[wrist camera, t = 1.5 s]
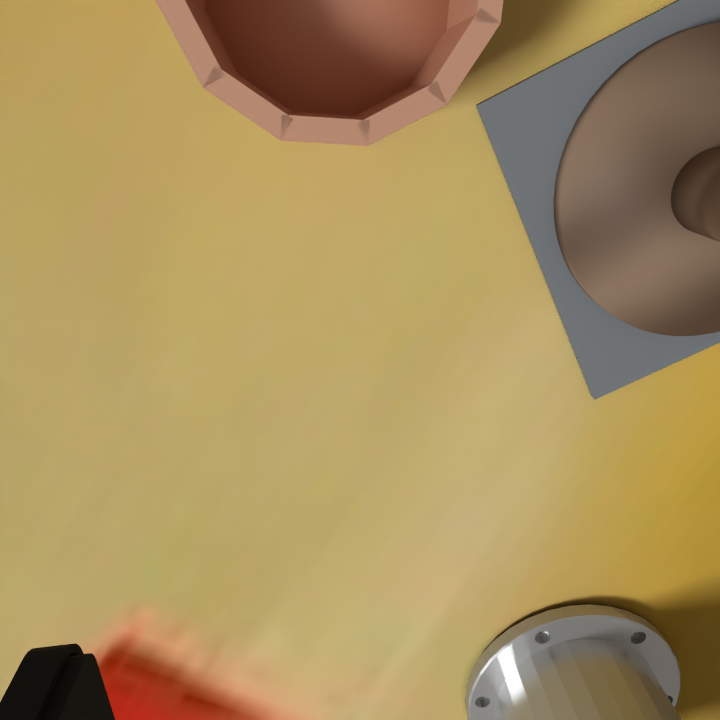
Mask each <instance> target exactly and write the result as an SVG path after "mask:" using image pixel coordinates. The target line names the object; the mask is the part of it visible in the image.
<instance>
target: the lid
mask: <svg viewBox="0 0 720 720" xmlns="http://www.w3.org/2000/svg"><path fill="white" fill-rule="evenodd" d="M553 202H554V223H555V229H556V236H557V240H558V243H559V247H560V250H561V253H562V256H563V258H564V261H565V263H566V265H567V267H568V269H569V271H570V273H571V274H572V276H573V277H574V279H575V280H576V282H577V283H578V285H579V286H580V287H581V288H582V290H583V291H584V292H585V293H586V294H587V295H588V296H589V297H590V298H591V299H592V300H593V301H594V302H596V303H597V304H598V305H599V306H600V307H602V308H603V309H604V310H606V311H607V312H608V313H610V314H611V315H612V316H614V317H616V318H618V319H619V320H621V321H623V322H624V323H626V324H628V325H631V326H633V327H636V328H638V329H641V330H643V331H647V332H651V333H656V334H660V335H670V336H697V335H704V334H710V333H715V332H719V331H720V22H717V23H711V24H705V25H700V26H696V27H692V28H689V29H685V30H682V31H679V32H676V33H674V34H672V35H669V36H667V37H665V38H662V39H660V40H658V41H656V42H654V43H653V44H651V45H649V46H648V47H646V48H644V49H643V50H641V51H639V52H638V53H637V54H635V55H634V56H633V57H631V58H630V59H629V60H627V61H626V62H625V63H624V64H622V65H621V66H620V67H619V68H618V69H617V70H616V71H615V72H614V73H613V74H612V75H611V76H610V77H609V78H608V79H607V80H606V81H605V82H604V83H603V84H602V85H601V86H600V87H599V89H598V90H597V91H596V92H595V94H594V95H593V96H592V97H591V99H590V100H589V101H588V103H587V104H586V106H585V108H584V109H583V111H582V112H581V114H580V115H579V117H578V118H577V120H576V122H575V124H574V126H573V128H572V131H571V133H570V135H569V137H568V139H567V141H566V144H565V147H564V150H563V153H562V156H561V158H560V162H559V167H558V171H557V175H556V180H555V190H554V200H553Z"/></svg>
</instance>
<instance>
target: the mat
mask: <svg viewBox="0 0 720 720" xmlns="http://www.w3.org/2000/svg"><path fill="white" fill-rule="evenodd" d="M717 22H720V0H677V1H675V2H673V3H671V4H669V5H667V6H665V7H664V8H662V9H660V10H658V11H656V12H654V13H652V14H650V15H648V16H646V17H644V18H642V19H640V20H639V21H637V22H635V23H633V24H631V25H629V26H627V27H625V28H623V29H621V30H619V31H617V32H615V33H613V34H612V35H610V36H608V37H606V38H604V39H602V40H600V41H598V42H596V43H594V44H592V45H590V46H588V47H587V48H585V49H583V50H581V51H579V52H577V53H575V54H573V55H571V56H569V57H567V58H565V59H563V60H562V61H560V62H558V63H556V64H554V65H552V66H550V67H548V68H546V69H544V70H542V71H540V72H538V73H537V74H535V75H533V76H531V77H529V78H527V79H525V80H523V81H521V82H519V83H517V84H515V85H513V86H511V87H510V88H508V89H506V90H504V91H502V92H500V93H498V94H496V95H494V96H492V97H490V98H488V99H486V100H485V101H483V102H481V103H479V104H477V105H476V107H477V109H478V112H479V114H480V117H481V119H482V122H483V124H484V127H485V129H486V132H487V135H488V137H489V140H490V142H491V145H492V147H493V150H494V152H495V155H496V157H497V160H498V162H499V165H500V167H501V170H502V172H503V175H504V177H505V180H506V182H507V185H508V187H509V190H510V192H511V195H512V197H513V200H514V202H515V205H516V208H517V210H518V213H519V215H520V218H521V220H522V223H523V225H524V228H525V230H526V233H527V235H528V238H529V240H530V243H531V245H532V248H533V250H534V253H535V255H536V258H537V260H538V263H539V265H540V268H541V270H542V273H543V275H544V278H545V281H546V283H547V286H548V288H549V291H550V293H551V296H552V298H553V301H554V303H555V306H556V308H557V311H558V313H559V316H560V318H561V321H562V323H563V326H564V328H565V331H566V333H567V336H568V338H569V341H570V343H571V346H572V349H573V351H574V354H575V356H576V359H577V361H578V364H579V366H580V369H581V371H582V374H583V376H584V379H585V381H586V384H587V386H588V389H589V391H590V394H591V396H592V397H593V398H594V400H595V399H597V398H599V397H601V396H604V395H606V394H608V393H610V392H612V391H614V390H617V389H619V388H621V387H623V386H625V385H628V384H630V383H632V382H634V381H636V380H639V379H641V378H643V377H645V376H647V375H650V374H652V373H654V372H656V371H658V370H660V369H663V368H665V367H667V366H669V365H671V364H674V363H676V362H678V361H680V360H682V359H685V358H687V357H689V356H691V355H693V354H695V353H698V352H700V351H702V350H704V349H706V348H709V347H711V346H713V345H715V344H717V343H720V331H719V332H715V333H710V334H704V335H697V336H670V335H660V334H656V333H651V332H647V331H643V330H641V329H638V328H636V327H633V326H631V325H628V324H626V323H624V322H623V321H621V320H619V319H618V318H616V317H614V316H612V315H611V314H610V313H608V312H607V311H606V310H604V309H603V308H602V307H600V306H599V305H598V304H597V303H596V302H594V301H593V300H592V299H591V298H590V297H589V296H588V295H587V294H586V293H585V292H584V291H583V290H582V288H581V287H580V286H579V285H578V283H577V282H576V280H575V279H574V277H573V276H572V274H571V273H570V271H569V269H568V267H567V265H566V263H565V261H564V258H563V256H562V253H561V250H560V247H559V243H558V240H557V236H556V229H555V223H554V202H553V200H554V190H555V180H556V175H557V171H558V167H559V162H560V158H561V156H562V153H563V150H564V147H565V144H566V141H567V139H568V137H569V135H570V133H571V131H572V128H573V126H574V124H575V122H576V120H577V118H578V117H579V115H580V114H581V112H582V111H583V109H584V108H585V106H586V104H587V103H588V101H589V100H590V99H591V97H592V96H593V95H594V94H595V92H596V91H597V90H598V89H599V87H600V86H601V85H602V84H603V83H604V82H605V81H606V80H607V79H608V78H609V77H610V76H611V75H612V74H613V73H614V72H615V71H616V70H617V69H618V68H619V67H620V66H621V65H622V64H624V63H625V62H626V61H627V60H629V59H630V58H631V57H633V56H634V55H635V54H637V53H638V52H639V51H641V50H643V49H644V48H646V47H648V46H649V45H651V44H653V43H654V42H656V41H658V40H660V39H662V38H665V37H667V36H669V35H672V34H674V33H676V32H679V31H682V30H685V29H689V28H692V27H696V26H700V25H705V24H711V23H717Z"/></svg>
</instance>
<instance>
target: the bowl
mask: <svg viewBox="0 0 720 720" xmlns="http://www.w3.org/2000/svg"><path fill="white" fill-rule="evenodd" d="M155 1H156V2H157V4H158V6H159V8H160V10H161V12H162V14H163V15H164V17H165V19H166V21H167V23H168V25H169V26H170V28H171V30H172V32H173V34H174V36H175V37H176V39H177V41H178V43H179V45H180V47H181V49H182V50H183V52H184V54H185V56H186V58H187V60H188V61H189V63H190V65H191V67H192V69H193V71H194V72H195V74H196V76H197V78H198V80H199V82H200V84H201V85H202V87H203V88H204V89H205V90H207V91H208V92H210V93H211V94H213V95H214V96H216V97H217V98H219V99H220V100H222V101H223V102H225V103H226V104H228V105H229V106H231V107H232V108H234V109H235V110H236V111H238V112H239V113H241V114H242V115H244V116H245V117H247V118H248V119H250V120H251V121H253V122H254V123H256V124H257V125H259V126H260V127H262V128H263V129H265V130H266V131H268V132H269V133H271V134H272V135H274V136H275V137H277V138H278V139H280V140H283V141H299V142H314V143H330V144H346V145H362V146H369V145H371V144H373V143H375V142H376V141H378V140H380V139H382V138H384V137H386V136H388V135H390V134H392V133H394V132H396V131H398V130H399V129H401V128H403V127H405V126H407V125H409V124H411V123H413V122H415V121H417V120H419V119H420V118H422V117H424V116H426V115H428V114H430V113H432V112H434V111H436V110H438V109H440V108H442V107H443V106H445V105H447V104H448V102H449V101H450V99H451V98H452V96H453V95H454V93H455V92H456V90H457V89H458V87H459V86H460V84H461V83H462V81H463V80H464V78H465V77H466V75H467V74H468V72H469V70H470V69H471V67H472V66H473V64H474V63H475V61H476V60H477V58H478V57H479V55H480V54H481V52H482V51H483V49H484V48H485V46H486V45H487V43H488V42H489V40H490V39H491V37H492V36H493V34H494V33H495V31H496V30H497V28H498V27H499V25H500V24H501V16H502V8H503V0H155Z"/></svg>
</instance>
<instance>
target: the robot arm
mask: <svg viewBox="0 0 720 720" xmlns="http://www.w3.org/2000/svg"><path fill="white" fill-rule="evenodd" d="M680 688H681V673H680V669H679V665H678V661H677V658H676V656H675V655H674V653H673V651H672V650H671V648H670V646H669V644H668V643H667V641H666V640H665V639H664V637H663V636H662V635H661V633H660V632H659V631H658V629H656V628H655V627H654V626H653V625H651V624H650V623H649V622H648V621H646V620H645V619H644V618H642V617H640V616H637V615H635V614H633V613H631V612H629V611H626V610H622V609H619V608H615V607H611V606H602V605H591V604H588V605H574V606H566V607H561V608H557V609H552V610H548V611H545V612H543V613H540V614H537V615H535V616H532V617H529V618H527V619H525V620H524V621H522V622H520V623H518V624H517V625H515V626H513V627H511V628H509V629H508V630H507V631H506V632H504V633H503V634H502V635H501V636H499V637H498V638H497V639H495V640H494V641H493V642H492V643H491V644H490V646H489V647H488V648H487V649H486V650H485V651H484V652H483V653H482V654H481V656H480V657H479V659H478V661H477V662H476V664H475V666H474V667H473V669H472V671H471V674H470V677H469V680H468V682H467V685H466V695H465V704H466V711H467V716H468V720H681V719H680V717H679V715H678V713H677V712H676V710H675V706H676V704H677V700H678V696H679V692H680ZM0 720H115V718H114V715H113V712H112V709H111V705H110V702H109V699H108V696H107V693H106V689H105V686H104V683H103V680H102V677H101V674H100V670H99V667H98V664H97V661H96V659H95V656H94V655H93V654H83V652H82V649H81V647H80V646H79V645H78V644H67V645H59V646H50V647H42V648H34V649H31V650H30V651H28V652H27V654H26V655H25V657H24V658H23V660H22V662H21V664H20V666H19V668H18V670H17V671H16V673H15V675H14V677H13V679H12V681H11V683H10V685H9V687H8V689H7V691H6V692H5V694H4V696H3V698H2V700H1V702H0Z"/></svg>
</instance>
